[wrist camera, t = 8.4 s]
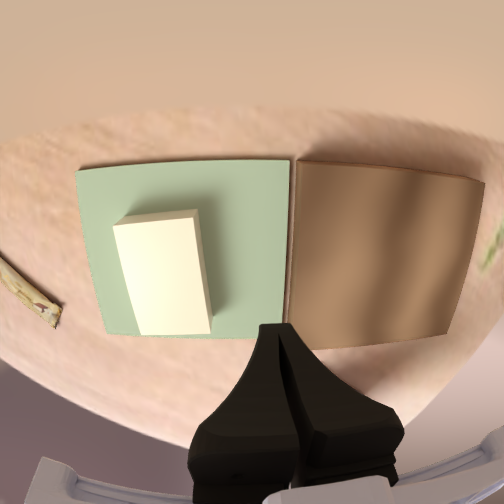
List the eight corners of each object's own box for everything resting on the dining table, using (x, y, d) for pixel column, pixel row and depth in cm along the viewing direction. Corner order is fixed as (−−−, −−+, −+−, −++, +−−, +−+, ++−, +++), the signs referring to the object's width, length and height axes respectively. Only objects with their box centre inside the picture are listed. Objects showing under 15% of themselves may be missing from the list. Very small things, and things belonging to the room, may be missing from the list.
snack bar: (-16, 268, 20) (-19, 251, 18) (-7, 259, 21) (-8, 241, 19) (55, 331, 22) (57, 318, 21) (63, 319, 24) (66, 306, 22)
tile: (112, 225, 17) (124, 216, 19) (141, 335, 20) (148, 319, 22) (193, 217, 17) (197, 208, 19) (210, 333, 20) (212, 316, 22)
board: (469, 177, 19) (485, 183, 17) (435, 321, 24) (446, 333, 22) (296, 160, 18) (302, 163, 16) (286, 334, 23) (289, 351, 21)
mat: (288, 160, 18) (289, 160, 18) (280, 334, 23) (280, 337, 23) (77, 170, 18) (74, 171, 17) (108, 330, 23) (106, 333, 22)
